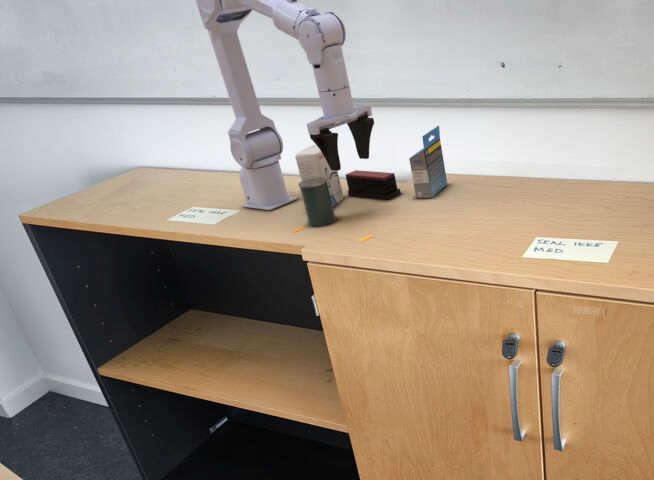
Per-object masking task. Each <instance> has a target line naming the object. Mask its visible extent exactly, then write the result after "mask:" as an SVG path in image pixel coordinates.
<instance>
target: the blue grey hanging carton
mask: <svg viewBox="0 0 654 480" xmlns="http://www.w3.org/2000/svg"><path fill="white" fill-rule="evenodd" d="M440 135H441V133H440V125H437V126H436V127H434V128H433V129H431V130H429V131H428V132H427V133H425V134H424V135H422V136H421V138H422V144H423V147H422V148H421V149H420V150H418V151H417V152H415V154H413V155H411V156H410V157H409V158H408V160H409V165H410V171H411V177H412V182H413V188H414V193H415V194H414V195H415V199H433V198H434V197H435V196H436V195H438V193H439V192H440V191H441V190H442V189H444V188H445V187H446V186H447V185H448V180H447V174H446V165H445V160H444V154H443V149H442V143H441V136H440ZM431 137H433V138H432V139H431V140H430V138H431Z"/></svg>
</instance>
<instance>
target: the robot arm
mask: <svg viewBox="0 0 654 480" xmlns="http://www.w3.org/2000/svg"><path fill="white" fill-rule="evenodd" d="M195 3H196V6H197V9H198V12H199V16H200V19H201V22H202V25H203V27H204V29H206V30H207V33H208V36H209V39H210V42H211V45H212V48H213V52H214V55H215V58H216V61H217V65H218V67H219V71H220V73H221V76H222V80H223V83H224V86H225V89H226V92H227V96H228V99H229V102H230V105H231V108H232V112H233V114H234V117H235V120H234V121H233V123H232V125H230V128H229V129H228V130H227V134H228V138H229V143H230V144H229V149H230V153H231V155H232V158H233V159H234V161H235V162H236V163H237V164H238V165H239V166H241V167H240V170H239V174H238V176H239V178H238V179H239V181H240V185H241V188H242V192H243V195H244V198H245V201H246V203H245V204H243V206H244V208H251V209H258V210H264V211H273V210H274V209H277V208H279V207H282V206H284V205H287V204H288V203H291V202H294V201H296V200H298V196H293V195H289V194H288V193H289V192H288V191H287V190H288V189H287V186H286V182H285V179H284V174H283V171H282V167H281V163H280V160H282V156H281V155H282V154H283V152H284V142H283V138H282V136H281V135H280V133H279V132H278V130H277V128H276V125H275V122H274V120H273V119H272V118H269V117H267V116H266V115H264V114H262V111H261V107H260V104H259V101H258V98H257V94H256V91H255V87H254V85H253V82H252V77H251V74H250V72H249V68H248V65H247V62H246V59H245V54H244V52H243V48H242V45H241V42H240V38H239V34H238V30H239V28H240V26H241V24H242V23H243V22H244V21H245V20H246V19H247V18H248V17H249V15H251V13H252V12H253V11H254V12H256V13H258V14H261V15H263V16H265V17H267V18H270V19H271V20H272V23H273V25H274V26H275V28H276V29H277V30H279V31H281V32H283V33H285V34H286V35H287V36H288V35H289V37H292V38H294V40H297V41H298V42H299V44H300V46H301V48H302V50H304V52H305V54H306V57H307V61H308V62H309V64H310V65H311V67H312V70H313V75H314V80H315V83H316V89H317V93H318V96H319V101H320V106H321V109H322V114H323V115H322V116H321V117H318V118H317V119H315V120H313V121H310V122H307V123H306V128H307V132H308V135H309V138H310V140H311V141H312V142H313V144H314V145H317V146H318V148H319V149H320V150H321V152H322V154H323V155H324V157H325V159H326V161H327V163H328V165H329V167H330V169H331V170H335V171H338V172H339V171H341V169H342V165H341V160H340V155H339V145H338V144H339V142H338V141H339V133H338V132H332V129H334V128H337V127H340V126H343V125H347V127H348V129H349V131H350V133H351V135H352V138H353V142H354V144H355V148H356V153H357V156H358V158H359V159H360V160H368V159H369V158H370V145H371V136H372V131H373V128H374V125H375V119H374V117H372V116H373V112H372V106H371V104H363V105H358V106H354V101H353V95H352V91H351V86H350V82H349V77H348V72H347V67H346V62H345V56H344V53H343V48H342V47H343V46H344V44H345V42H346V35H347V33H346V27H345V25H344V22H343V20H342V19H341V18H340V16H339V15H337V14H336V13H335V12H334V11H326V12H324V13H322V12H319V11H318V10H317V8H315V7H313V6H307V5H305V4H304V3H302V2H300V1H298V0H195Z"/></svg>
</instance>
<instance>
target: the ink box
mask: <svg viewBox="0 0 654 480" xmlns="http://www.w3.org/2000/svg"><path fill="white" fill-rule="evenodd" d="M295 161H296V164H297V165H296V166H297V169H298V173H299V177H300V180H301V182H302V181H304V180H307V179H311V178H317V177H324V178H326V179H327V185H328V189H329V193H330V198H331V202H332V206H333V208H334V207H335V206H336V205H338V204H339V203H340V202H341V201H342V200H343V199H344V197H345V196H344V193H343V189H342V185H341V180H340V176H339V171H335V170H331V169H330V167H329V165H328V163H327V161H326V159H325V157H324V155H323V154H322V152H321V150H320V149H319V148H318V146H317V145H316V144H311V145H309V146H307V147H305V148H304V149H302V150H300V151H299V152H296V154H295Z"/></svg>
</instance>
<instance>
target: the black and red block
mask: <svg viewBox="0 0 654 480" xmlns="http://www.w3.org/2000/svg"><path fill="white" fill-rule="evenodd" d="M345 179H346V184H347V188H348V190H347V194H348V197H355V198H363V199H374V200H384V201H390V200H392V199H394V198H396V197H398V196H400V195H402V191H401V188H398V184H397V180H396V179H397V178H396V175H395V172H383V171H370V170H358V169H357V170H353V171H350V172H348V173H346V174H345Z"/></svg>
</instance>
